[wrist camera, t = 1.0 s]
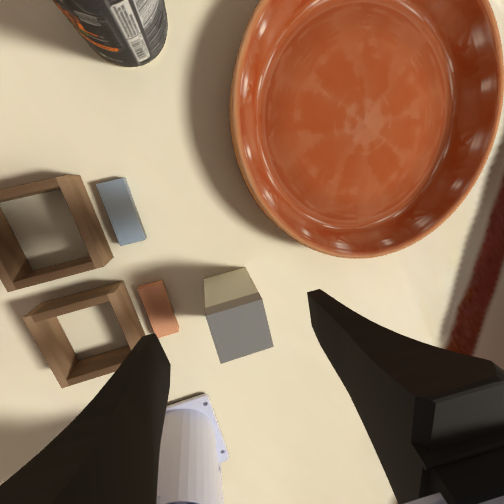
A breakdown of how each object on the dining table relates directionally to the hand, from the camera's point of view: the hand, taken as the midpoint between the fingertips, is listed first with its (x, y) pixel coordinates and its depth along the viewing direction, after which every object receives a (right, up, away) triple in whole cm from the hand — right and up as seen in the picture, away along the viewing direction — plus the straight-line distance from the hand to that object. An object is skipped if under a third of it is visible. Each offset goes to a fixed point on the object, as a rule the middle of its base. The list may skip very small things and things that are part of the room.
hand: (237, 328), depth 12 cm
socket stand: (-12, +2, +10) cm, 16 cm away
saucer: (+10, +15, +12) cm, 21 cm away
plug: (-1, 0, +13) cm, 13 cm away
